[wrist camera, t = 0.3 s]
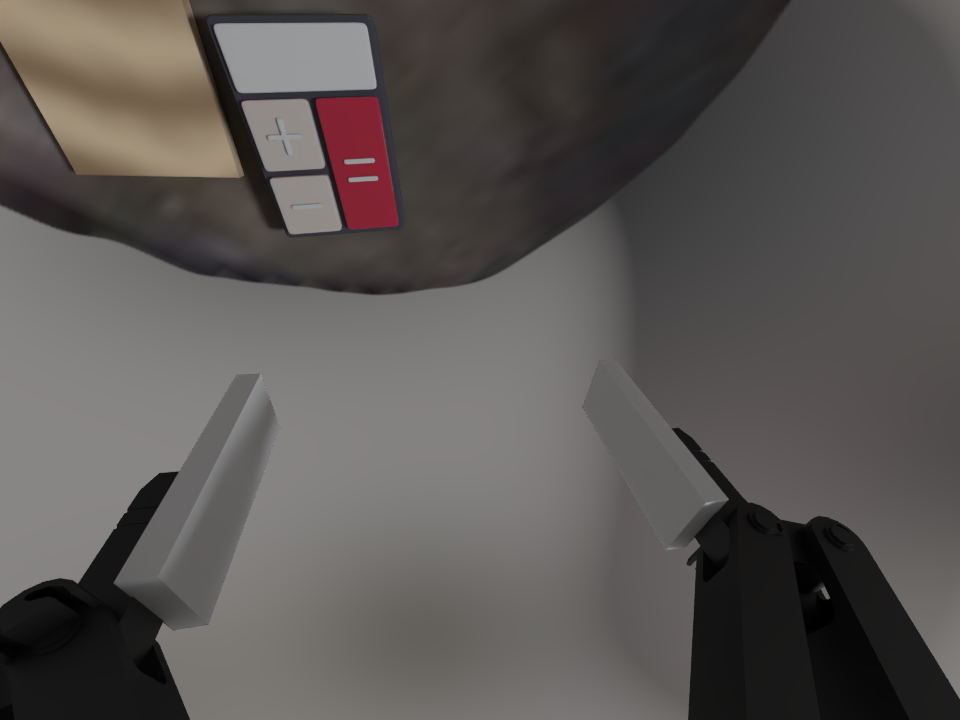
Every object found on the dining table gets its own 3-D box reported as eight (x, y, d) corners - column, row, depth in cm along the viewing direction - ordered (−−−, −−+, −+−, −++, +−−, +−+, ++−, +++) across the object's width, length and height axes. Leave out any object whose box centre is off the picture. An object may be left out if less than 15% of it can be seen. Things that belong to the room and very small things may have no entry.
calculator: (285, 241, 32) (196, 12, 22) (295, 225, 35) (222, 19, 26) (405, 231, 33) (371, 12, 24) (404, 217, 37) (374, 19, 27)
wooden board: (-31, -41, 22) (-51, -47, 21) (182, -19, 24) (173, -24, 23) (87, 172, 29) (76, 174, 28) (244, 175, 31) (239, 177, 30)
